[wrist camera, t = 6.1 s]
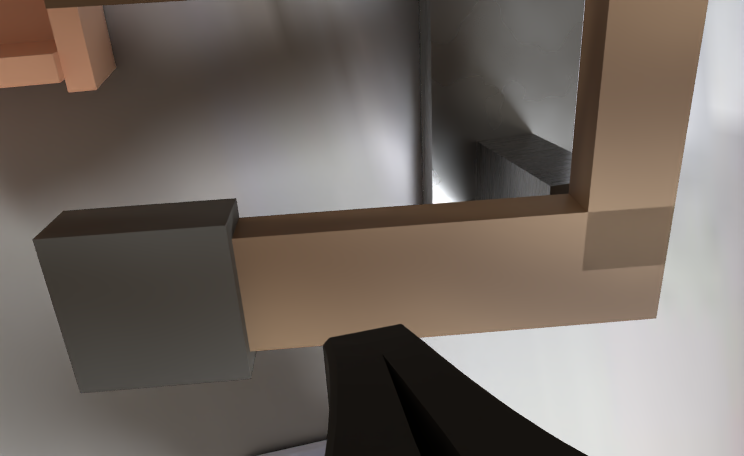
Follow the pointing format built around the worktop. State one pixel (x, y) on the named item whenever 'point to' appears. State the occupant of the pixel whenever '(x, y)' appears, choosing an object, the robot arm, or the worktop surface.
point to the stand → (498, 97)
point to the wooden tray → (394, 239)
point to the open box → (54, 45)
